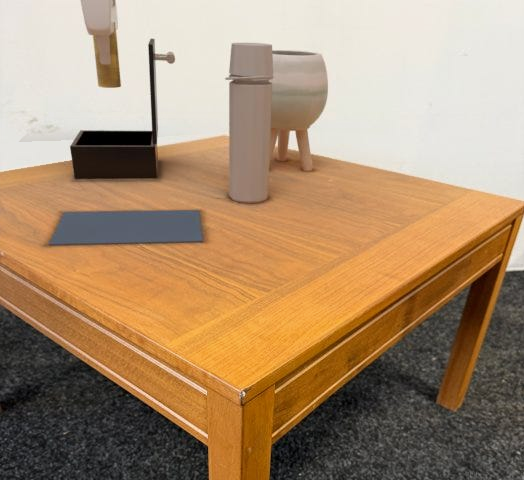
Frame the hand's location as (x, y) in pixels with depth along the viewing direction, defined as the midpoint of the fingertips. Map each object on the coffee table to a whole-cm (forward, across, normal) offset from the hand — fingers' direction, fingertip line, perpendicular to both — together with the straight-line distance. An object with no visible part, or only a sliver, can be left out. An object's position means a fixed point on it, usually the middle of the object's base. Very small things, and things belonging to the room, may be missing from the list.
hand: (107, 62), depth 97 cm
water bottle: (+21, +12, +24) cm, 34 cm away
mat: (+21, +27, +3) cm, 34 cm away
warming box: (+21, -6, 0) cm, 22 cm away
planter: (+21, -8, +35) cm, 41 cm away
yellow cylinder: (+4, 0, 0) cm, 4 cm away
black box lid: (+5, -6, +7) cm, 11 cm away
